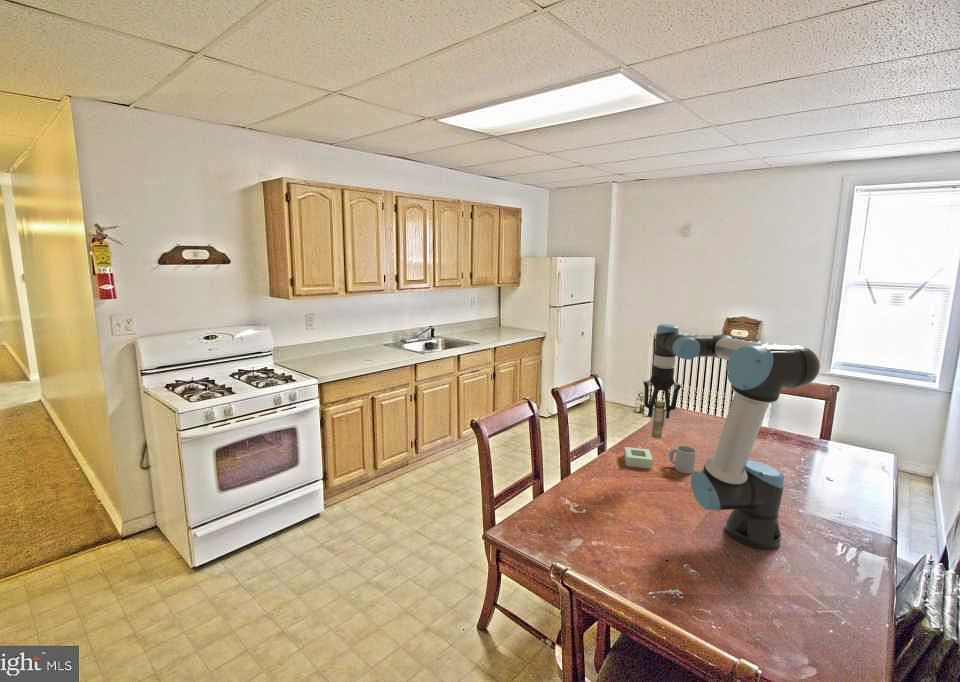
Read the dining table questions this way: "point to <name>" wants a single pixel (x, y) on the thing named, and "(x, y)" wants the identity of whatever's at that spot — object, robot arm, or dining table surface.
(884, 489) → the dining table surface
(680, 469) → the cup
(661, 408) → the striped wooden dowel
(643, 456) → the square block with hole
